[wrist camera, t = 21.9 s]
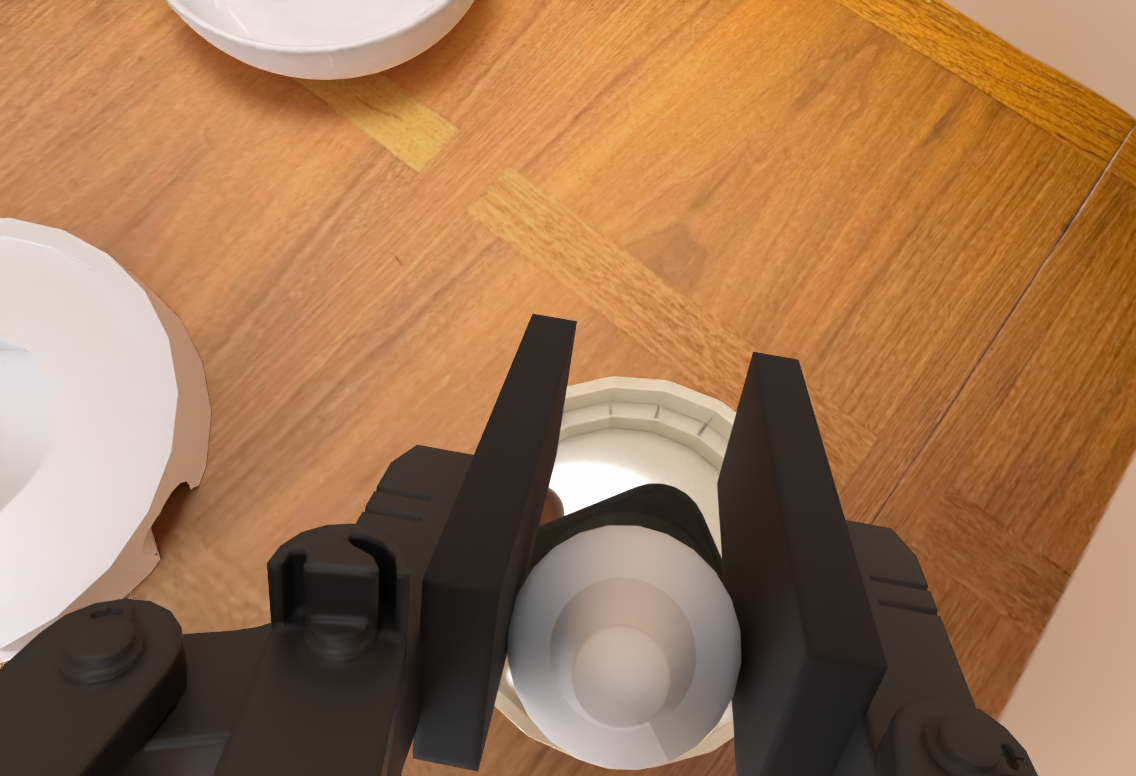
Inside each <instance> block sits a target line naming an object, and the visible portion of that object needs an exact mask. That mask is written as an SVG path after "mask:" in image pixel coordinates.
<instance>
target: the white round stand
mask: <svg viewBox="0 0 1136 776" xmlns="http://www.w3.org/2000/svg"><path fill="white" fill-rule="evenodd" d="M210 422H211V407H210V401H209V396H208V390H207V385H206V379H205V374H204V368H203V363H202V360H201V358H200V356H199V355H198V353H197V351H196V349H195V347H194V345H193V343H192V341H191V339H190V337H189V335H188V333H187V331H186V329H185V327H184V325H183V323H182V321H181V320H180V318H179V317H178V316H177V315H176V314H175V313H174V312H173V311H172V310H171V309H170V308H169V307H168V306H167V305H166V304H165V303H164V302H163V301H162V300H161V299H160V298H159V297H158V296H157V295H156V294H155V293H154V292H153V291H152V290H151V289H150V288H149V287H148V286H147V285H146V284H145V283H143V282H142V281H141V280H140V279H138V278H137V277H136V276H135V275H134V274H132V273H131V272H130V271H129V270H127V269H126V268H125V267H124V266H122V265H121V264H120V263H119V262H117V261H116V260H115V259H114V258H112V257H111V256H110V255H108V254H107V253H105V252H103V251H101V250H99V249H97V248H95V247H94V246H92V245H90V244H88V243H86V242H84V241H83V240H81V239H79V238H77V237H75V236H73V235H72V234H70V233H68V232H66V231H64V230H61V229H57V228H52V227H48V226H43V225H39V224H35V223H30V222H26V221H22V220H17V219H13V218H0V663H2V662H5V661H9V660H10V659H12V658H13V657H14V656H15V655H16V654H17V653H18V652H19V651H20V650H21V649H22V648H24V647H25V646H26V645H27V644H28V643H29V642H30V641H31V640H32V639H33V638H34V637H35V636H37V635H38V634H39V633H40V632H41V631H43V630H44V629H46V628H47V627H48V626H50V625H51V624H53V623H54V622H56V621H57V620H58V619H60V618H61V617H63V616H64V615H66V614H69V613H71V612H74V611H76V610H79V609H81V608H84V607H86V606H89V605H91V604H94V603H99V602H106V601H112V600H119V599H123V598H125V597H126V596H127V595H128V594H129V593H130V592H131V591H132V590H133V589H134V588H135V587H136V586H137V585H138V584H140V583H141V582H142V581H143V580H144V579H145V578H146V577H147V576H148V575H149V574H150V573H151V572H152V571H153V569H154V568H155V566H156V565H157V563H158V562H159V560H160V555H159V552H158V549H157V545H156V542H155V539H154V535H153V532H152V529H151V526H152V524H153V522H154V521H155V519H156V518H157V517H158V516H159V514H160V512H161V510H162V508H163V505H164V504H165V502H166V501H167V499H168V497H169V496H170V494H171V492H172V491H173V490H174V489H175V488H176V487H177V486H178V485H179V484H180V483H182V482H186V481H187V483H188V484H189V485H190V490H191V489H192V488H193V487H196V486H199V484H200V481H201V479H202V476H203V473H204V471H205V468H206V462H207V452H208V442H209V432H210Z"/></svg>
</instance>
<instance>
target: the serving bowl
mask: <svg viewBox="0 0 1136 776" xmlns="http://www.w3.org/2000/svg"><path fill="white" fill-rule="evenodd" d="M165 1H166V2H167V3H168V4H169V5H170V7H171V8H172V9H173V10H174V11H175V12H176V13H177V14H178V15H179V16H180V17H181V18H182V19H183V20H184V21H185V22H186V23H187V24H188V25H189V26H190V27H191V28H192V29H193V30H194V31H196V32H197V33H198V34H199V35H200V36H202V37H203V38H204V39H206V40H207V41H208V42H210V43H211V44H213V45H214V46H215V47H217V48H218V49H220V50H222V51H223V52H225V53H227V54H228V55H230V56H232V57H234V58H236V59H238V60H240V61H242V62H244V63H246V64H249V65H251V66H254V67H257V68H259V69H262V70H265V71H269V72H272V73H275V74H280V75H285V76H289V77H296V78H303V79H316V80H336V79H348V78H354V77H361V76H365V75H370V74H374V73H377V72H381V71H384V70H387V69H389V68H392V67H395V66H398V65H400V64H402V63H404V62H406V61H408V60H410V59H412V58H414V57H416V56H418V55H419V54H421V53H422V52H424V51H426V50H427V49H429V48H430V47H431V46H433V45H434V44H436V43H437V42H438V41H439V40H440V39H442V38H443V37H444V36H445V35H446V34H447V33H448V32H449V31H450V30H451V29H452V28H453V27H454V26H455V25H456V24H457V23H458V22H459V21H460V20H461V18H462V17H463V16H464V15H465V13H466V12H467V11H468V9H469V8H470V7H471V5H472V3H473V2H474V0H165Z"/></svg>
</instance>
